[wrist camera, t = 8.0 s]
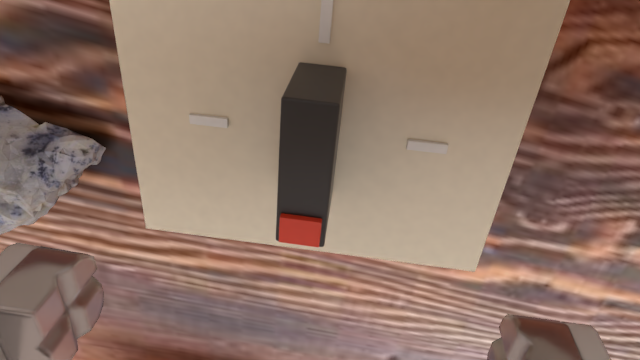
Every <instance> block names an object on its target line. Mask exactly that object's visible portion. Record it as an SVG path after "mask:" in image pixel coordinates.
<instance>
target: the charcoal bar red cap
mask: <svg viewBox="0 0 640 360" xmlns="http://www.w3.org/2000/svg"><path fill="white" fill-rule="evenodd" d="M346 73H347V69H346V68H345V67H337V66H329V65H320V64H311V63H303V62H300V63H298V66H297V68H296V70H295V72H294V74H293V76H292V78H291V80H290V82H289V84H288V86H287V88H286V90H285V92H284V94H283V96H282V98H281V116H280V141H279V166H278V192H277V217H276V241H279V242H282V243H289V244H297V245H304V246H311V247H323V246H324V244H325V238H326V231H327V225H328V218H329V212H330V205H331V199H332V192H333V184H334V175H335V167H336V158H337V150H338V141H339V133H340V124H341V115H342V107H343V98H344V90H345V81H346Z"/></svg>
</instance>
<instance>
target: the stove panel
mask: <svg viewBox="0 0 640 360" xmlns="http://www.w3.org/2000/svg"><path fill="white" fill-rule="evenodd" d="M109 2H110V8H111V14H112V21H113V27H114V33H115V39H116V45H117V52H118V58H119V64H120V70H121V76H122V83H123V89H124V95H125V101H126V107H127V113H128V120H129V126H130V132H131V138H132V144H133V151H134V157H135V163H136V169H137V175H138V182H139V188H140V194H141V200H142V206H143V213H144V219H145V225H146V228H147V229H154V230H162V231H169V232H177V233H185V234H192V235H200V236H207V237H215V238H222V239H230V240H238V241H245V242H253V243H260V244H268V245H276V246H283V247H291V248H298V249H306V250H313V251H321V252H329V253H336V254H344V255H351V256H359V257H367V258H374V259H382V260H389V261H397V262H404V263H412V264H420V265H427V266H435V267H442V268H450V269H458V270H465V271H473V272H475V270H476V267H477V265H478V262H479V259H480V256H481V253H482V250H483V248H484V245H485V242H486V239H487V236H488V233H489V230H490V228H491V225H492V222H493V219H494V216H495V213H496V211H497V208H498V205H499V202H500V199H501V196H502V193H503V191H504V188H505V185H506V182H507V179H508V176H509V174H510V171H511V168H512V165H513V162H514V159H515V156H516V154H517V151H518V148H519V145H520V142H521V139H522V137H523V134H524V131H525V128H526V125H527V122H528V119H529V117H530V114H531V111H532V108H533V105H534V102H535V100H536V97H537V94H538V91H539V88H540V85H541V82H542V80H543V77H544V74H545V71H546V68H547V65H548V63H549V60H550V57H551V54H552V51H553V48H554V45H555V43H556V40H557V37H558V34H559V31H560V28H561V26H562V23H563V20H564V17H565V14H566V11H567V8H568V6H569V3H570V0H109ZM300 62H303V63H311V64H320V65H329V66H337V67H345V68H346V69H347V73H346V81H345V90H344V98H343V107H342V115H341V124H340V133H339V141H338V150H337V158H336V167H335V175H334V184H333V192H332V199H331V205H330V212H329V218H328V225H327V231H326V238H325V244H324V246H323V247H311V246H304V245H297V244H289V243H282V242H279V241H276V217H277V192H278V166H279V141H280V116H281V98H282V96H283V94H284V92H285V90H286V88H287V86H288V84H289V82H290V80H291V78H292V76H293V74H294V72H295V70H296V68H297V66H298V63H300Z"/></svg>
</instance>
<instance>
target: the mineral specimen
mask: <svg viewBox="0 0 640 360" xmlns="http://www.w3.org/2000/svg"><path fill="white" fill-rule="evenodd" d="M105 149H106V148H105V147H103V146H101V145H100V144H99V143H97V142H96V141H95V140H93V139H91V138H89V137H85V136H83V135H81V134H79V133H76V132H74V131H71V130H69V129H67V128H63V127H60V126H56V125H53V124H50V123H47V122H45V123H43V124H41V125H39V124H38V123H36V122H35V121H34V120H32V119H31V118H29V117H28V116H26V115H25V114H24V113H22V112H21V111H19V110H17V109H15V108H14V107H12V106H9V105H6V104H5V102H4V99H3V97H2V96H1V95H0V234H3V233H6V232H9V231H11V230H12V229H14V228H16V227H17V226H20V225H30V224H34V223H35V222H36V221H37V220H38V219H39V218H40V217H41V216H43V215H45V214H47V212H48V211H49V209H51V208H52V207H53V206H54V205H55V203H56V201H57V200H58V198H59V196H61V195H63V194H65V193H67V192H68V191H69V190H70V189H71V188H72V187H75V186H76V185H78V179H79V178H80V177H81V175H82V173H83V170H84V169H85V168H87V167H88V166H90V165H97V164H98V163H99V162H100V161H101V158H102V154H103V153H104V151H105Z"/></svg>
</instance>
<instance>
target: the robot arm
mask: <svg viewBox="0 0 640 360" xmlns="http://www.w3.org/2000/svg"><path fill="white" fill-rule="evenodd" d="M96 270H97V265H96V262H95V259H94V256H91V255H88V254H83V253H77V252H71V251H65V250H59V249H53V248H48V247H42V246H41V247H39V246H33V245H27V244H21V243H16V244H13V245H10V246H8V247H7V248H6V249H5V250H4V251H2V252H1V253H0V360H71V359H72V358H73V356H74V355H75V354H76V352H77V351H78V344H77V339H78V338H79V337H81V336H83V335H84V334H86V333H88V332H89V331H91V330H92V328H93V327H94V325H95V323H96V322H97V320H98V319H99V316H100V313H101V310H102V307H103V302H104V292H103V288H102V285H101V284H100V283H99V282H98V281H97V280H96V279H95V278H94V277H93V276H92V275H93V274H94V273H95V271H96ZM499 329H500V333H501V338H499V339H498V340H496V341H494V342H492V345H491V347H490V350H489V352H488V357H487V360H611V358H610V356H609V354H608V352H607V350H606V348H605V346H604V344H603V342H602V340H601V338H600V336H599V334H598V332H597V331H596V330H595V329H594V328H593V327H592V326H591V325H583V324H576V323H569V322H560V321H555V320H547V319H540V318H532V317H525V316H517V315H510V314H508V315H506V316H505V317H504V318H503V320H502V322H501V324H500V326H499Z"/></svg>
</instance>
